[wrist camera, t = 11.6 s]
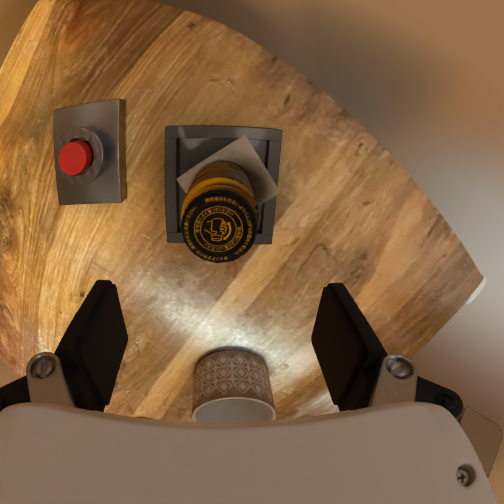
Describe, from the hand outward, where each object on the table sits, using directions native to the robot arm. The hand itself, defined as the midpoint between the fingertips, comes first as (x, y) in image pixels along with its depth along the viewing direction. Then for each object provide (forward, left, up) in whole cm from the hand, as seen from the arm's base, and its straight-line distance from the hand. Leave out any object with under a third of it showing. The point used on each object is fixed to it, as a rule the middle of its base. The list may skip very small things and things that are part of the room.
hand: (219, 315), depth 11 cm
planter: (+32, +2, -24) cm, 40 cm away
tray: (0, 0, -24) cm, 24 cm away
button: (-4, -16, -20) cm, 26 cm away
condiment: (0, +1, -21) cm, 21 cm away
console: (-4, -16, -24) cm, 29 cm away
